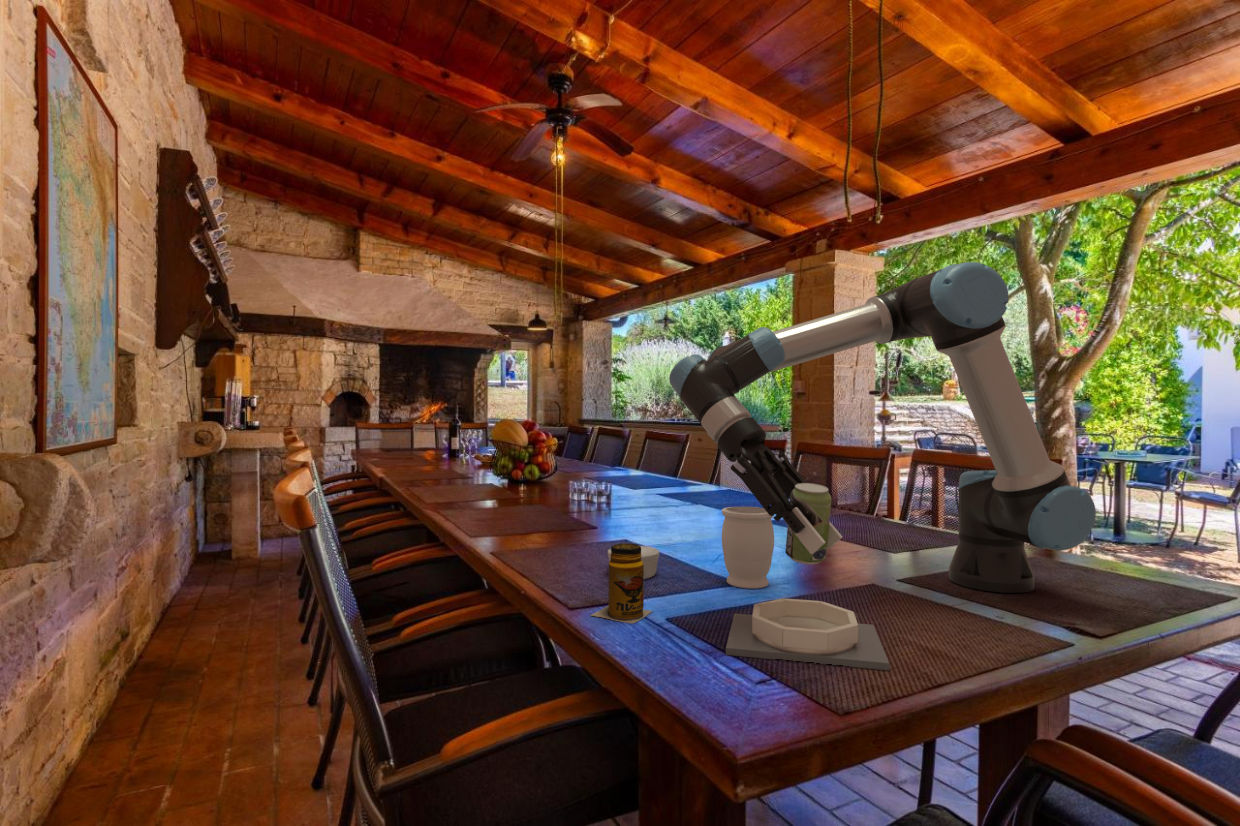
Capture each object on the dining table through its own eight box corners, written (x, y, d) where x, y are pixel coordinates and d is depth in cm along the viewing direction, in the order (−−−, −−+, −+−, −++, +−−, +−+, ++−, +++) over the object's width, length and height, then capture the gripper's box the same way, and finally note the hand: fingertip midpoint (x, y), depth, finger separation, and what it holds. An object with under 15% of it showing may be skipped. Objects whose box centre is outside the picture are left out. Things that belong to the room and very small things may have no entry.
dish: (850, 623, 103) (850, 603, 103) (861, 659, 88) (861, 635, 88) (755, 616, 107) (755, 596, 107) (750, 648, 92) (750, 626, 92)
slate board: (873, 630, 103) (873, 624, 103) (889, 670, 87) (889, 663, 87) (734, 619, 108) (734, 613, 108) (725, 654, 93) (725, 647, 93)
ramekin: (636, 565, 145) (636, 542, 145) (670, 576, 136) (670, 551, 136) (596, 574, 138) (596, 549, 138) (630, 585, 129) (630, 559, 129)
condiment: (633, 624, 106) (634, 551, 105) (589, 616, 110) (590, 546, 110) (653, 612, 112) (653, 543, 112) (610, 604, 116) (611, 538, 116)
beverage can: (809, 555, 103) (810, 480, 103) (840, 566, 96) (841, 486, 96) (776, 558, 100) (777, 482, 100) (805, 569, 94) (806, 487, 93)
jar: (711, 580, 133) (711, 507, 133) (752, 574, 137) (752, 504, 137) (742, 593, 123) (742, 515, 123) (785, 587, 127) (785, 512, 127)
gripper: (750, 444, 114) (837, 551, 103) (688, 448, 102) (779, 570, 90) (776, 414, 111) (870, 522, 99) (715, 415, 98) (815, 538, 87)
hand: (826, 545), depth 95 cm, fingers closed on beverage can, 5 cm apart
